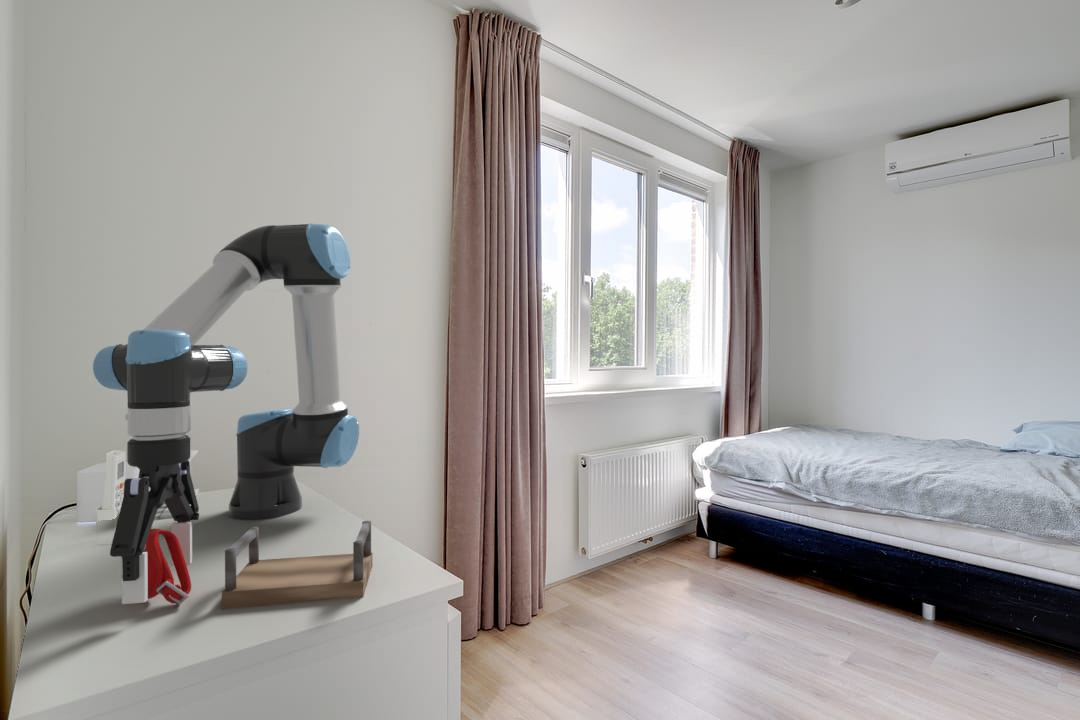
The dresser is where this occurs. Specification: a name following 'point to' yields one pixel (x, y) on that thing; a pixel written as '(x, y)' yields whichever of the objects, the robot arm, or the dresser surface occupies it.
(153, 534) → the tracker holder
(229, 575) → the wooden serving tray
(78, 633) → the dresser surface
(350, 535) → the dresser surface
